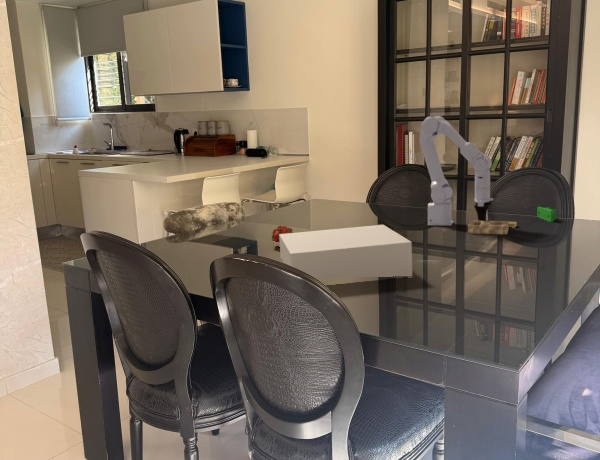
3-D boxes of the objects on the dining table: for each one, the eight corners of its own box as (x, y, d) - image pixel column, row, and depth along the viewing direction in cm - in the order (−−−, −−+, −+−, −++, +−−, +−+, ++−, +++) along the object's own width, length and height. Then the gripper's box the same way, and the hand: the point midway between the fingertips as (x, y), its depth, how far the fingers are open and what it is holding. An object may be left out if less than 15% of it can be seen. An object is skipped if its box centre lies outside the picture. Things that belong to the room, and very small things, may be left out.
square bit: (477, 227, 224) (477, 209, 223) (478, 225, 228) (478, 208, 226) (486, 227, 223) (486, 209, 222) (487, 225, 226) (487, 208, 225)
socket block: (467, 233, 214) (467, 225, 214) (470, 227, 223) (470, 220, 223) (507, 234, 209) (507, 226, 208) (508, 228, 218) (508, 221, 217)
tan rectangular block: (499, 228, 221) (499, 223, 221) (500, 226, 225) (500, 221, 224) (515, 228, 219) (515, 223, 218) (516, 226, 222) (516, 221, 222)
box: (281, 266, 186) (279, 234, 184) (384, 256, 191) (383, 224, 189) (293, 291, 159) (290, 253, 157) (412, 278, 164) (411, 241, 162)
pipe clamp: (559, 222, 225) (560, 210, 224) (550, 222, 225) (550, 211, 224) (545, 216, 236) (546, 206, 235) (537, 217, 236) (537, 206, 235)
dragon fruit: (283, 246, 219) (288, 258, 207) (265, 236, 216) (268, 247, 205) (295, 228, 217) (300, 239, 206) (277, 217, 214) (281, 228, 203)
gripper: (491, 190, 214) (491, 225, 217) (494, 184, 227) (494, 218, 230) (472, 190, 217) (472, 224, 219) (476, 185, 230) (476, 217, 233)
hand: (482, 221), depth 225 cm, fingers closed on square bit, 4 cm apart
